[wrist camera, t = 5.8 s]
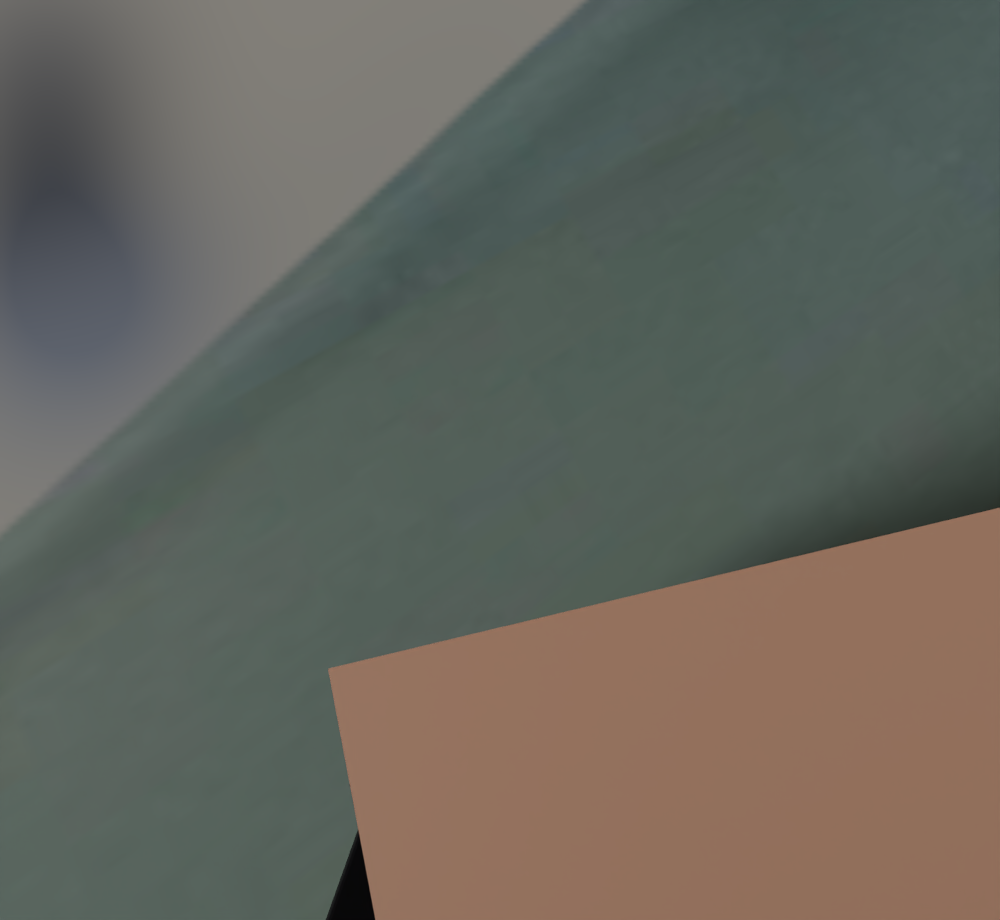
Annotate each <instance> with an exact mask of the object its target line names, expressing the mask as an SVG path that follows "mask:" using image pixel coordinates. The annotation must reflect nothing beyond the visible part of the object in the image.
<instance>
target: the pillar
mask: <svg viewBox="0 0 1000 920" xmlns="http://www.w3.org/2000/svg"><path fill="white" fill-rule="evenodd" d="M328 671H329V676H330V681H331V687H332V692H333V697H334V702H335V708H336V713H337V718H338V724H339V729H340V734H341V740H342V745H343V750H344V756H345V761H346V766H347V772H348V777H349V782H350V787H351V793H352V798H353V803H354V809H355V814H356V819H357V825H358V830H359V835H360V841H361V846H362V851H363V857H364V862H365V867H366V872H367V878H368V883H369V888H370V894H371V899H372V904H373V910H374V915H375V920H1000V508H996V509H992V510H988V511H984V512H980V513H975V514H971V515H967V516H963V517H959V518H955V519H950V520H946V521H942V522H938V523H934V524H930V525H925V526H921V527H917V528H913V529H909V530H905V531H900V532H896V533H892V534H888V535H884V536H880V537H875V538H871V539H867V540H863V541H859V542H855V543H850V544H846V545H842V546H838V547H834V548H830V549H825V550H821V551H817V552H813V553H809V554H804V555H800V556H796V557H792V558H788V559H784V560H779V561H775V562H771V563H767V564H763V565H759V566H754V567H750V568H746V569H742V570H738V571H734V572H729V573H725V574H721V575H717V576H713V577H709V578H704V579H700V580H696V581H692V582H688V583H684V584H679V585H675V586H671V587H667V588H663V589H659V590H654V591H650V592H646V593H642V594H638V595H634V596H629V597H625V598H621V599H617V600H613V601H609V602H604V603H600V604H596V605H592V606H588V607H584V608H579V609H575V610H571V611H567V612H563V613H558V614H554V615H550V616H546V617H542V618H538V619H533V620H529V621H525V622H521V623H517V624H513V625H508V626H504V627H500V628H496V629H492V630H488V631H483V632H479V633H475V634H471V635H467V636H463V637H458V638H454V639H450V640H446V641H442V642H438V643H433V644H429V645H425V646H421V647H417V648H413V649H408V650H404V651H400V652H396V653H392V654H388V655H383V656H379V657H375V658H371V659H367V660H363V661H358V662H354V663H350V664H346V665H342V666H338V667H333V668H329V669H328Z"/></svg>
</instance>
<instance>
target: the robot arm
mask: <svg viewBox="0 0 1000 920" xmlns="http://www.w3.org/2000/svg"><path fill="white" fill-rule="evenodd" d="M326 920H375V915H374V910H373V904H372V899H371V894H370V888H369V883H368V878H367V872H366V867H365V862H364V857H363V851H362V846H361V841H360V835H359V830H358V831H357V834H356V837H355V840H354V842H353V845H352V848H351V851H350V854H349V856H348V859H347V862H346V865H345V868H344V870H343V873H342V876H341V879H340V882H339V884H338V887H337V890H336V893H335V896H334V898H333V901H332V904H331V907H330V910H329V912H328V915H327V918H326Z"/></svg>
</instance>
